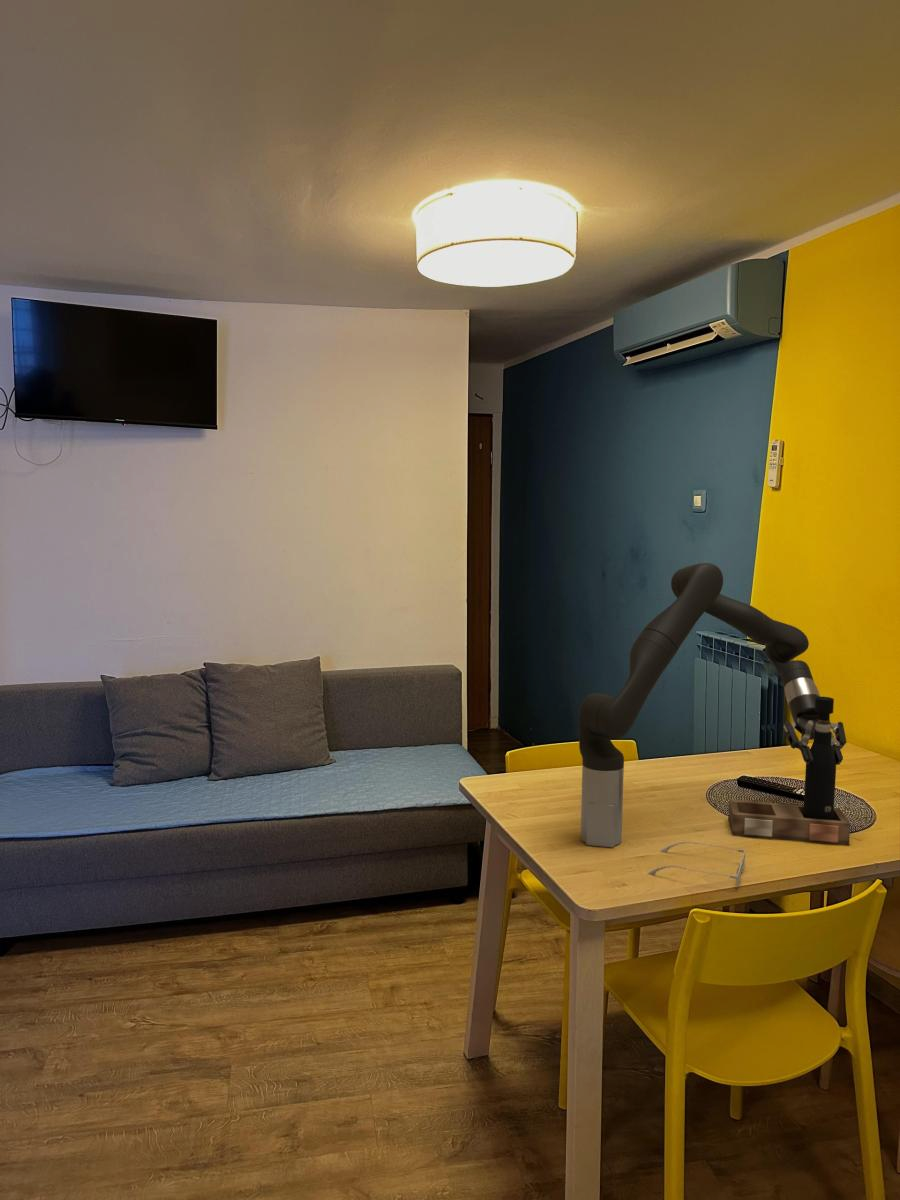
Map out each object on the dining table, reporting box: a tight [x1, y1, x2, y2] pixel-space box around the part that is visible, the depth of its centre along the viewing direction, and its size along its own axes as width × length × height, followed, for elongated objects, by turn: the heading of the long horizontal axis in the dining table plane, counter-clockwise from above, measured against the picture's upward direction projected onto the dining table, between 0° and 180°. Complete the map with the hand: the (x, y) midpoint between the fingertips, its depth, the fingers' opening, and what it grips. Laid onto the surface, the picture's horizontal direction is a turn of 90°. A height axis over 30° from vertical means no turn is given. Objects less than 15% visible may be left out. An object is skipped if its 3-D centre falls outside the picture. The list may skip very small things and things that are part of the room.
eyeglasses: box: [647, 841, 746, 888], centre depth 178 cm, size 15×18×4 cm
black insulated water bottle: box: [803, 696, 837, 820], centre depth 198 cm, size 6×6×30 cm
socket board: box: [727, 799, 851, 846], centre depth 200 cm, size 25×12×5 cm, turn 77°
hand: (824, 762), depth 196 cm, fingers closed on black insulated water bottle, 6 cm apart
